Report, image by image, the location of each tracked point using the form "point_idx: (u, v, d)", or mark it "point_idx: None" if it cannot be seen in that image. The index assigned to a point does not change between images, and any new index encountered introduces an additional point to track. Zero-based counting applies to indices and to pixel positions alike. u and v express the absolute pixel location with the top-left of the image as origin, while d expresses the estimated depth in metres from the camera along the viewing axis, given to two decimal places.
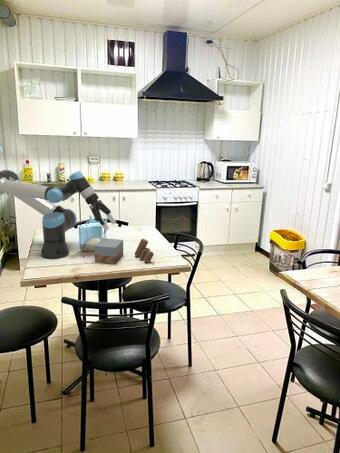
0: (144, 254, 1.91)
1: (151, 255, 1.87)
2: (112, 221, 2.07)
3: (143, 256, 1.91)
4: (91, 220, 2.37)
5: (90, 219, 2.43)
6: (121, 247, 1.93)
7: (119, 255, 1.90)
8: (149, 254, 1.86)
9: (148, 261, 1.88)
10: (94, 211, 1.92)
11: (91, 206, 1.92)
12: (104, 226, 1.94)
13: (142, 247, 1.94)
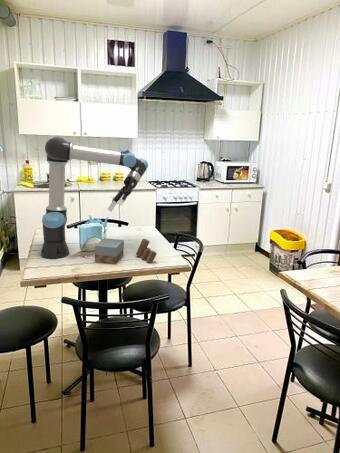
0: (147, 254, 1.91)
1: (154, 255, 1.88)
2: (110, 207, 1.98)
3: (145, 256, 1.91)
4: (91, 220, 2.37)
5: (90, 219, 2.43)
6: (122, 247, 1.93)
7: (119, 255, 1.90)
8: (152, 254, 1.87)
9: (151, 261, 1.88)
10: (131, 187, 1.91)
11: (132, 183, 1.94)
12: (121, 200, 1.87)
13: (144, 247, 1.94)
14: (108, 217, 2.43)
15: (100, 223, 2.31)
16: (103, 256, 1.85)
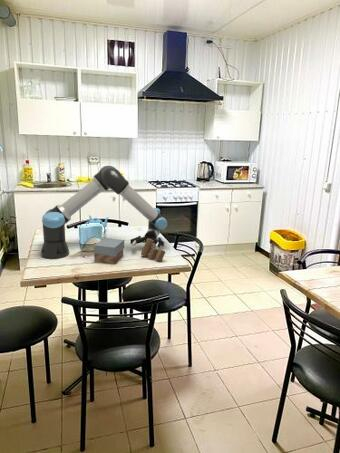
0: (154, 253, 1.93)
1: (163, 253, 1.90)
2: (134, 244, 1.98)
3: (153, 255, 1.93)
4: (91, 220, 2.37)
5: (90, 219, 2.43)
6: (121, 247, 1.93)
7: (119, 255, 1.90)
8: (162, 252, 1.90)
9: (160, 259, 1.91)
10: None
11: None
12: (157, 246, 1.97)
13: (149, 246, 1.95)
14: (108, 217, 2.43)
15: (100, 223, 2.31)
16: (102, 256, 1.85)
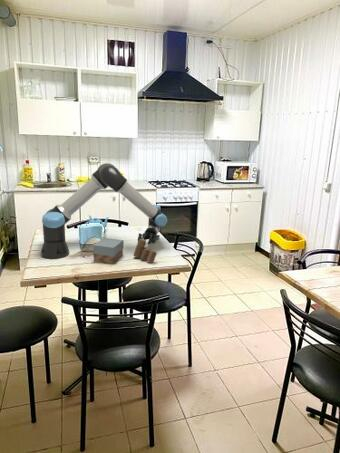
0: (146, 254, 1.90)
1: (155, 254, 1.87)
2: None
3: (145, 256, 1.90)
4: (91, 220, 2.37)
5: (90, 219, 2.43)
6: (121, 247, 1.92)
7: (118, 255, 1.90)
8: (153, 253, 1.86)
9: (152, 260, 1.88)
10: (156, 239, 2.03)
11: (159, 237, 2.06)
12: (147, 243, 1.94)
13: (141, 247, 1.92)
14: (108, 217, 2.43)
15: (100, 223, 2.31)
16: (102, 256, 1.85)
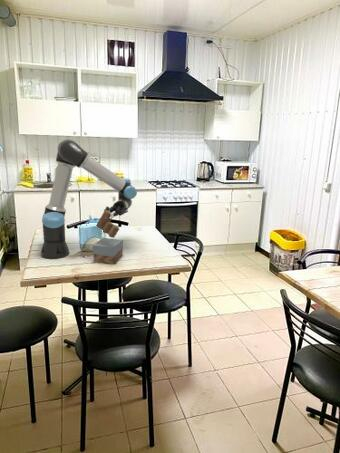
0: (109, 228, 1.83)
1: (116, 230, 1.80)
2: None
3: (107, 229, 1.83)
4: (91, 220, 2.37)
5: (90, 219, 2.43)
6: (120, 247, 1.92)
7: (118, 255, 1.90)
8: (115, 229, 1.80)
9: (113, 236, 1.82)
10: (124, 212, 1.95)
11: (127, 210, 1.98)
12: (113, 214, 1.86)
13: (105, 219, 1.85)
14: None
15: None
16: (102, 256, 1.85)
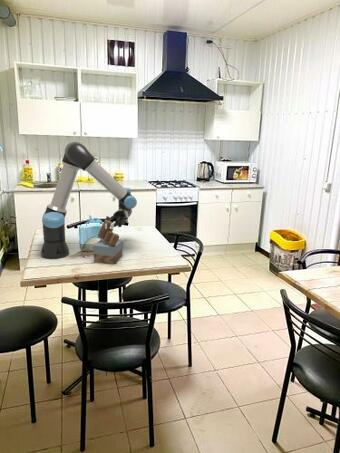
0: (109, 237, 1.85)
1: (117, 238, 1.82)
2: None
3: (108, 238, 1.85)
4: (91, 220, 2.37)
5: (90, 219, 2.43)
6: (120, 247, 1.93)
7: (118, 255, 1.90)
8: (115, 237, 1.81)
9: (114, 244, 1.83)
10: (124, 221, 1.97)
11: (127, 220, 2.00)
12: (113, 225, 1.87)
13: (106, 229, 1.87)
14: None
15: (100, 223, 2.31)
16: (102, 256, 1.85)
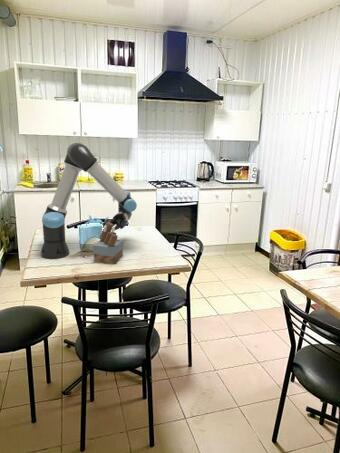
0: (109, 238, 1.86)
1: (115, 238, 1.82)
2: (105, 228, 1.88)
3: (107, 239, 1.86)
4: (91, 220, 2.37)
5: (90, 219, 2.43)
6: (120, 247, 1.93)
7: (118, 255, 1.90)
8: (113, 237, 1.82)
9: (112, 244, 1.83)
10: (124, 225, 1.97)
11: (127, 223, 2.00)
12: (114, 228, 1.88)
13: (107, 230, 1.89)
14: (108, 217, 2.43)
15: (100, 223, 2.31)
16: (102, 256, 1.85)
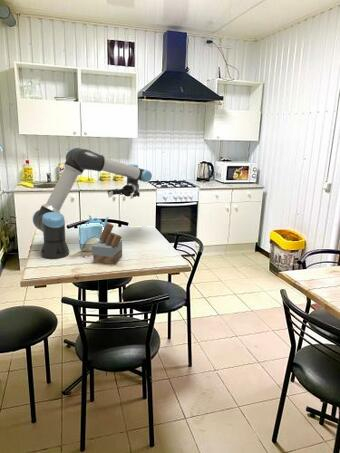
0: (111, 238, 1.85)
1: (119, 238, 1.82)
2: (110, 194, 2.06)
3: (110, 240, 1.85)
4: (91, 220, 2.37)
5: (90, 219, 2.43)
6: (119, 248, 1.92)
7: (118, 256, 1.89)
8: (117, 237, 1.81)
9: (116, 245, 1.82)
10: None
11: None
12: (132, 195, 2.05)
13: (108, 231, 1.88)
14: (108, 217, 2.43)
15: (100, 223, 2.31)
16: (102, 257, 1.84)
